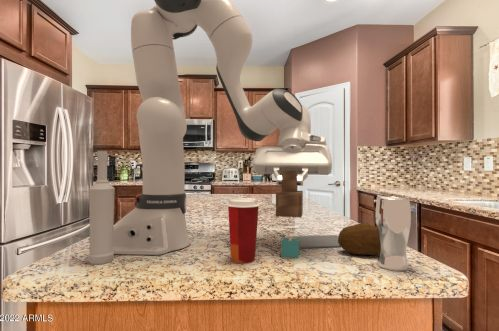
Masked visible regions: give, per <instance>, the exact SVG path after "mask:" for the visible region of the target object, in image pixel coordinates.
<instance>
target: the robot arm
mask: <svg viewBox="0 0 499 331" xmlns="http://www.w3.org/2000/svg"><path fill="white" fill-rule="evenodd" d="M153 1H154V4H155V5H154V6H153V7H152V8H151V9H142V10H140V11H137V12H136V13H134V15H133V16H132V17H131V22H130V25H131V26H130V42H131V43H130V45H131V51H132V52H131V53H132V57H133V66H134V70H135V71H134V72H135V79H136V84H137V87H138V89H139V93H140V97H141V100H142V102H141V104H140V105H139V107H138V108H137V110H136V121H137V125H138V126H137V127H138V137H139V145H140V154H141V162H142V193H139V194H137V195H136V196H135V197H134V198H133V200H134V201H133V203H134V207H135V208H133V209H132V210H131V211H129V212H128V213H127V214H125V216H123V217H122V218H121V219H119V220H118V221H117V222H116V223H115V224H114V225H113V251H114V255H138V256H140V255H142V256H143V255H144V256H145V255H146V256H151V255H152V256H153V255H155V256H159V255H163V254H164V255H165V254H167V253H169V252H174V251H177V250H180V249H184V248H186V247H189V246H190V245H191V240H190V238H189V234H188V229H187V221H186V212H187V193H185V176H186V175H185V170H186V168H185V155H184V154H185V152H184V137H185V135H186V132H187V130H188V129H187V127H188V126H187V125H188V123H187V118H186V113H185V112H186V111H185V107H184V102H183V96H182V92H181V91H182V90H181V85H180V81H179V80H180V79H179V74H178V68H177V62H176V61H177V60H176V54H175V48H174V47H175V46H174V42H173V41H174V40H178V39H180V38H185V37H188V36H191V35H192V34H193V33H194V32H195V31H196V30H197V28H198V27H200V28H201V29H202V30H203V31H204V32H205V34H206V36H207V38H208V39H209V41H210V42H211V44H212V47H213V48H214V52H215V56H216V66H215V69H216V73H217V76H218V78H219V81H220V84H221V86H222V89H223V91H224V94H225V95H226V98H227V99H228V102H229V105H230V107H231V109H232V112H233V113H234V116H235V118H236V123H237V127H238V130H239V132H240V134H241V135H242V136H243V138H245V139H247V140H249V141H252V142H261V141H263V140H264V139H265V138H266V137H268V136H269V135H270V134H271V133H273V132H274V131H277V129H278V130H279V136H278V142H277V145H269V146H267V145H262V146H261V147H259V148H256V149H255V153H254V158H253V161H252V170H253V171H254V172H255V173H256V174H261V175H262V174H263V175H265V174H266V175H267V174H268V175H271V174H272V175H273V176H274V178H275V179H276V185H277V186H282V170H298V175H297V187H298V186H301V187H302V186H304V181H305V180H306V179H307V178H308V177H309V175H310V176H311V175H312V176H313V175H314V176H315V175H316V176H328V175H330V174H331V173H332V170H333V163H332V162H333V160H332V153H331V151H330V149H329V146H327V138H326V137H324V136H321V135H320V136H319V135H316V134H312V133H311V128H312V127H311V126H312V125H311V116H310V114H309V110H308V109H307V108H306V106H304V105H303V104H302V103H301V101H299V99H298V98H297V96H296V95H294V93H292V92H291V91H289V90H286V89H282V88H274V89H273V90H271V91H269V92H268V93H266V95H264V96H263V97H261V99H259V100H258V101H257V102H256V103H254V104H253V105H250V102H249V100H248V98H247V96H246V93H245V90H244V88H243V86H242V83H241V74H242V70H243V68H244V65H245V64H246V62H247V59H248V57H249V55H250V53H251V50H252V47H253V46H252V45H253V34H252V31H251V29H250V26H249V24H248V23H247V21H246V20H245V18H244V17H243V15H242V13H241V12H240V11H239V9H238V8H237V6H236V5H235V4H234V3H233V1H232V0H153Z"/></svg>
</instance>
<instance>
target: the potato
mask: <svg viewBox="0 0 499 331" xmlns="http://www.w3.org/2000/svg"><path fill="white" fill-rule="evenodd" d="M337 236H338V243H339V245H340V246H341V247H340V248H341V249H342V250H344V251H345V252H348V253H350V254H354V255H367V256H368V255H369V256H375V255H379V251H380V247H379V239H378V234H377V228H376V226H375V225H373V224H370V223H367V222H360V223H356V224H353V225H348V226H346V227H343V228H342V229H341V230H340V232H339V234H338V235H337Z"/></svg>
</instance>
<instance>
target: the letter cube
mask: <svg viewBox="0 0 499 331" xmlns="http://www.w3.org/2000/svg"><path fill="white" fill-rule="evenodd" d="M280 242H281V244H280V246H281V251H280V252H281V253H280V254H281V255H280V256H281V258H289V257H294V258H293V259H299V256H300V249H299V238H294V237H288V236H282V239H281V241H280Z"/></svg>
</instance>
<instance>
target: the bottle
mask: <svg viewBox="0 0 499 331" xmlns="http://www.w3.org/2000/svg"><path fill="white" fill-rule="evenodd" d="M96 152H97V158H96V159H97V172H96V174H97V176H96V177H97V180H96V181H95V183H94V184H93V185H92V186H91V187H89V189H88V190H89V193H88V195H89V196H88V199H89V200H88V201H89V204H88V205H89V207H88V210H89V211H88V212H89V254H88V261H89V264H91V265H103V264H104V265H105V264H108V263H111V262H113V260H114V257H115V254H114V251H113V227H114V225H115V224H114V223H115V222H114V219H115V190H116V188H115V187H114V186H113V185H111V183H110V181H109V180H108V151H107V150H97V151H96Z"/></svg>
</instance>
